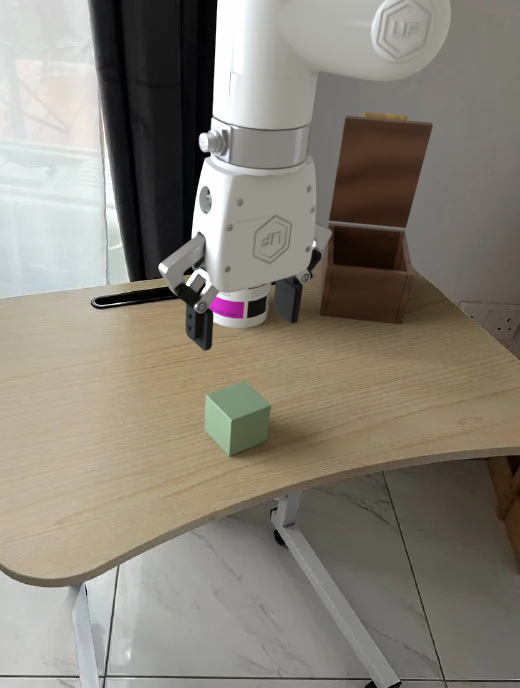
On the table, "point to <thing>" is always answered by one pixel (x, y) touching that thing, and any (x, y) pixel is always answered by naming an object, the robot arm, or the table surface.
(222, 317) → the supplement can
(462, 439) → the table surface
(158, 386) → the table surface
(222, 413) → the block
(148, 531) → the table surface
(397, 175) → the lid
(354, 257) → the chest
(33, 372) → the table surface
